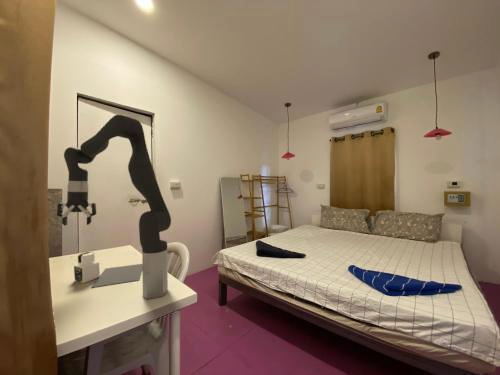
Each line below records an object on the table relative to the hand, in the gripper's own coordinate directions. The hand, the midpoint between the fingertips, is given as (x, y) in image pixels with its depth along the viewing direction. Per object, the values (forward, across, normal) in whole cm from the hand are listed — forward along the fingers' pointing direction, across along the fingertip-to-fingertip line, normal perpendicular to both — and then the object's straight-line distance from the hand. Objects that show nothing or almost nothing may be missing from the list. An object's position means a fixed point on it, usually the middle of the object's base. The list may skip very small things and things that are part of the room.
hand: (77, 224), depth 98 cm
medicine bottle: (+25, +6, -5) cm, 26 cm away
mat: (+24, +19, -6) cm, 31 cm away
